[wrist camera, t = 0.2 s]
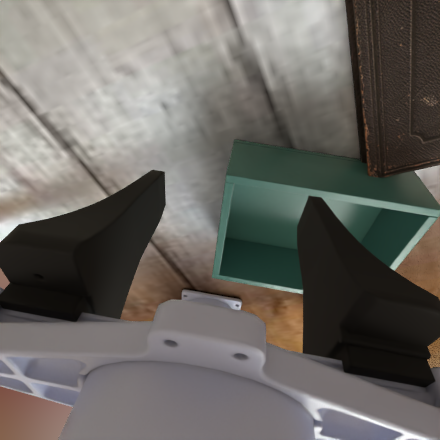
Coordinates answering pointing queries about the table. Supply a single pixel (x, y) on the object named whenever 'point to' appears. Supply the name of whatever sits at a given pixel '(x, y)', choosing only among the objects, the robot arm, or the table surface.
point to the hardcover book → (396, 83)
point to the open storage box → (294, 205)
